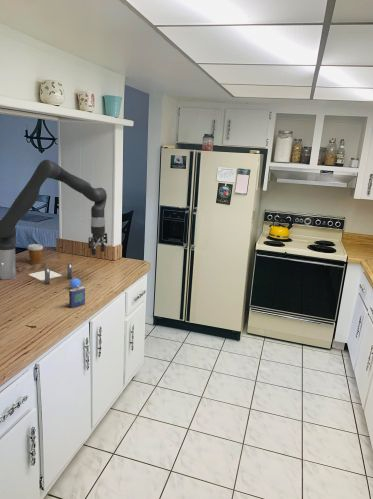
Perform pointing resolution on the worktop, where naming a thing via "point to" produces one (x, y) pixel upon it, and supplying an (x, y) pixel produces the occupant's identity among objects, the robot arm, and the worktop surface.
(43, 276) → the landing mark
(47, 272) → the left post
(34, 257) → the disposable coffee cup
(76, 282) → the ball
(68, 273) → the right post
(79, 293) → the flask
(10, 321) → the worktop surface
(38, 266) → the stopper wall
